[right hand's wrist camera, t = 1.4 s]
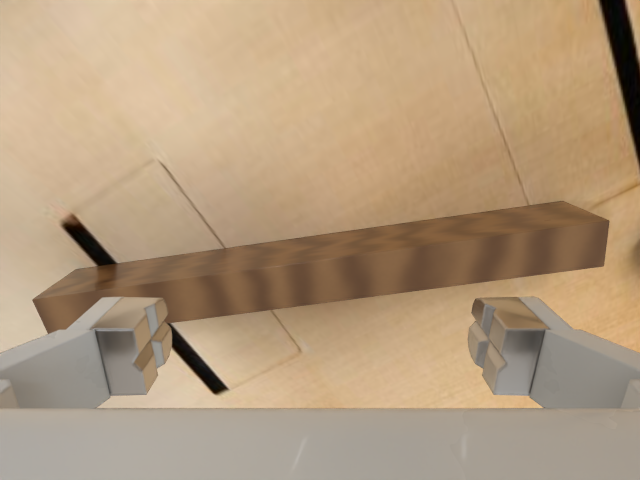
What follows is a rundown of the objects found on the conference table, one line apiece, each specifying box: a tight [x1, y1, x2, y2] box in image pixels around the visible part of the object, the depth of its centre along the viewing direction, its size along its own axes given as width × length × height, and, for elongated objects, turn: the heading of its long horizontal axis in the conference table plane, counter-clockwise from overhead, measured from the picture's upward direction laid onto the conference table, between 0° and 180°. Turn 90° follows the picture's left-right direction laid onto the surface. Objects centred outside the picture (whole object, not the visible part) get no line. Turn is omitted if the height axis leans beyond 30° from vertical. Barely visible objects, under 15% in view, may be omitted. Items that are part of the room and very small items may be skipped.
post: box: [33, 201, 609, 334], centre depth 45 cm, size 62×5×8 cm, turn 99°
